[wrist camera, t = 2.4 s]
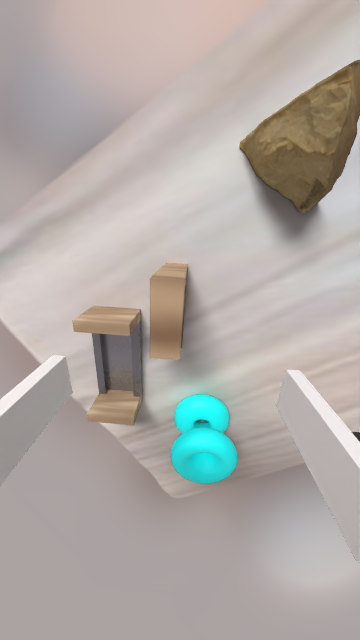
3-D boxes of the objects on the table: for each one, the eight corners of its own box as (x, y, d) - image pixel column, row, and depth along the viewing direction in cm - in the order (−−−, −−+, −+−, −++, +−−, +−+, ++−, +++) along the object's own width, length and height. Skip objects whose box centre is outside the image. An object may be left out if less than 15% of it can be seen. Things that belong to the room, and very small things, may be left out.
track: (94, 315, 32) (90, 319, 30) (140, 318, 32) (138, 322, 30) (102, 387, 37) (99, 393, 36) (142, 391, 37) (140, 397, 36)
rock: (357, 199, 22) (371, 73, 18) (352, 217, 17) (370, 46, 13) (259, 221, 29) (250, 135, 25) (235, 238, 24) (218, 134, 20)
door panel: (165, 262, 28) (148, 278, 17) (188, 264, 28) (186, 280, 17) (164, 315, 31) (149, 357, 20) (184, 317, 31) (180, 360, 20)
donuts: (224, 434, 26) (248, 479, 29) (216, 383, 36) (235, 422, 39) (157, 452, 28) (187, 493, 31) (166, 400, 38) (188, 435, 41)
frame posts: (93, 306, 31) (72, 320, 26) (140, 309, 31) (129, 324, 25) (103, 394, 38) (88, 421, 32) (142, 397, 38) (133, 425, 32)
